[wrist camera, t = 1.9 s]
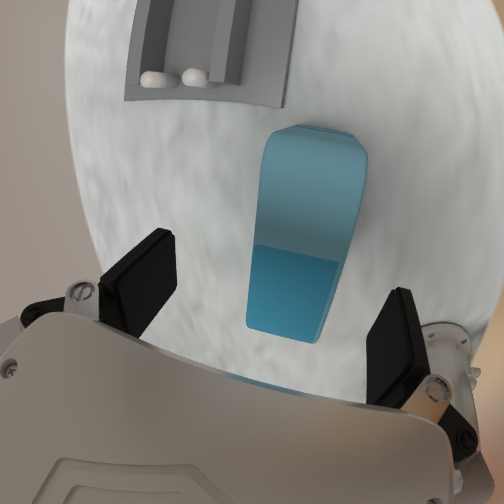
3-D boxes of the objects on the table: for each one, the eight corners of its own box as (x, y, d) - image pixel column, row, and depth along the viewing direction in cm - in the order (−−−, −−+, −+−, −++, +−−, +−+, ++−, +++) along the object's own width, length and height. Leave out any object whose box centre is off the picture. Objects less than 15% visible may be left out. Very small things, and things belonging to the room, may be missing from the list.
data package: (299, 123, 20) (263, 133, 10) (353, 133, 20) (372, 153, 10) (281, 248, 27) (243, 337, 17) (326, 258, 26) (312, 355, 16)
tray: (305, -61, 10) (296, -88, 6) (282, 107, 20) (269, 106, 16) (155, -43, 13) (127, -57, 9) (130, 100, 23) (96, 104, 19)
